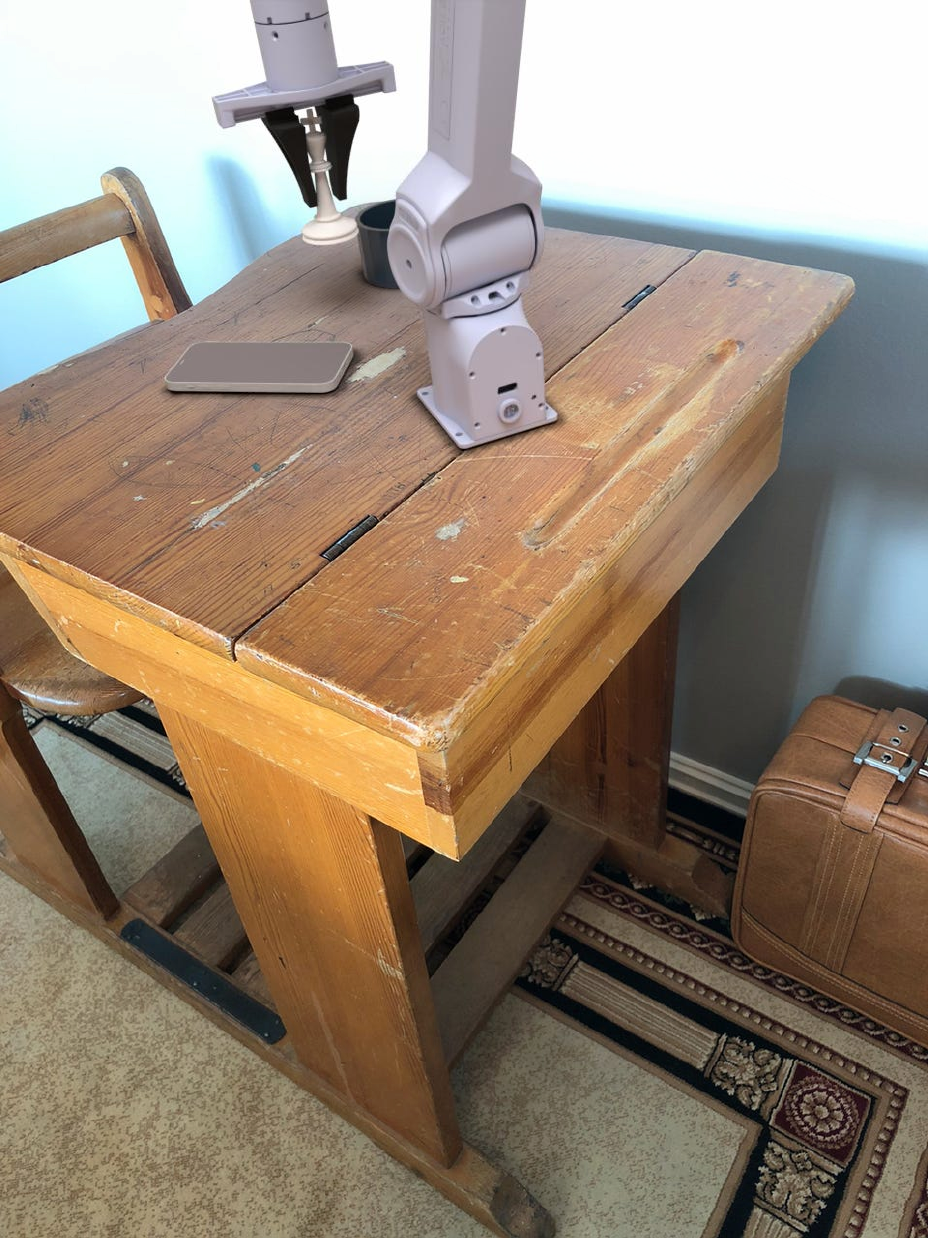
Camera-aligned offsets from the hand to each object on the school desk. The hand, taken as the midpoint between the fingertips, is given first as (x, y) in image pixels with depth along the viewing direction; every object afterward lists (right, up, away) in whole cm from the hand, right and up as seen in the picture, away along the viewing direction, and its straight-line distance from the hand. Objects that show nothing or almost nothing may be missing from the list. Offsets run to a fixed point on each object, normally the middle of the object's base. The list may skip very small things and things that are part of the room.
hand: (325, 200), depth 83 cm
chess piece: (0, -2, +2) cm, 3 cm away
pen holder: (+6, -1, +14) cm, 15 cm away
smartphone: (-5, -15, 0) cm, 16 cm away
